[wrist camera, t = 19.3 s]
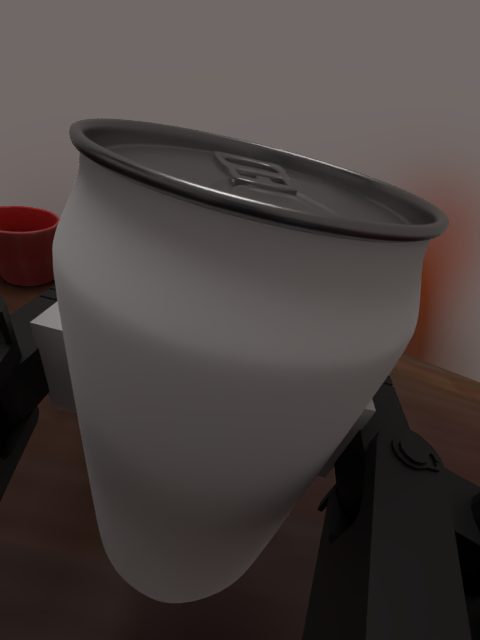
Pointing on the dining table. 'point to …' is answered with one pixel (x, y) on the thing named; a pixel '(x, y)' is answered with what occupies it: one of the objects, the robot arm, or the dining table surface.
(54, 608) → the dining table surface
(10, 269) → the flower pot
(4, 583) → the dining table surface
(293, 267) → the can
